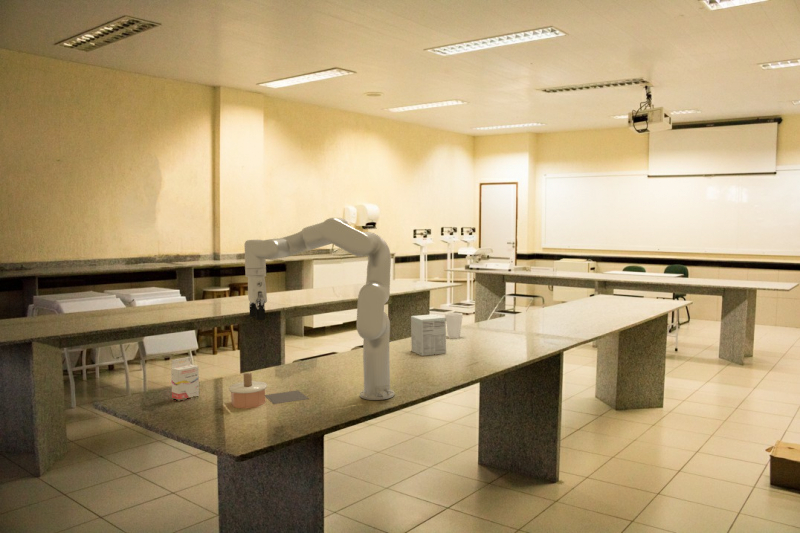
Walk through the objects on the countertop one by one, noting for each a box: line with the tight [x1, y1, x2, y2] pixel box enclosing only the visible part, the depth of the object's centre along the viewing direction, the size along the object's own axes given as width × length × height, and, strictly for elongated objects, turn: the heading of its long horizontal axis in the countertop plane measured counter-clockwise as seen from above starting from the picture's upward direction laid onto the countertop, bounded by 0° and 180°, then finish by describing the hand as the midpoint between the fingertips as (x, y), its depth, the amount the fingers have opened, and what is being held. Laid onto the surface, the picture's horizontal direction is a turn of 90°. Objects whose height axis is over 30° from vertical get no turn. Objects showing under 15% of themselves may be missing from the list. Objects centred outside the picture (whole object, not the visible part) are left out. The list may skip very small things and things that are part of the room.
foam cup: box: [444, 312, 463, 340], centre depth 339 cm, size 10×9×13 cm
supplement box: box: [410, 313, 447, 356], centre depth 301 cm, size 13×13×18 cm
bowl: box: [230, 389, 266, 409], centre depth 219 cm, size 11×11×6 cm
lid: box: [228, 372, 268, 393], centre depth 218 cm, size 13×13×5 cm
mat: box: [265, 390, 310, 405], centre depth 226 cm, size 13×13×1 cm
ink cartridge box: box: [170, 356, 200, 399], centre depth 229 cm, size 9×5×15 cm, turn 141°
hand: (257, 317), depth 234 cm, fingers open, 9 cm apart
